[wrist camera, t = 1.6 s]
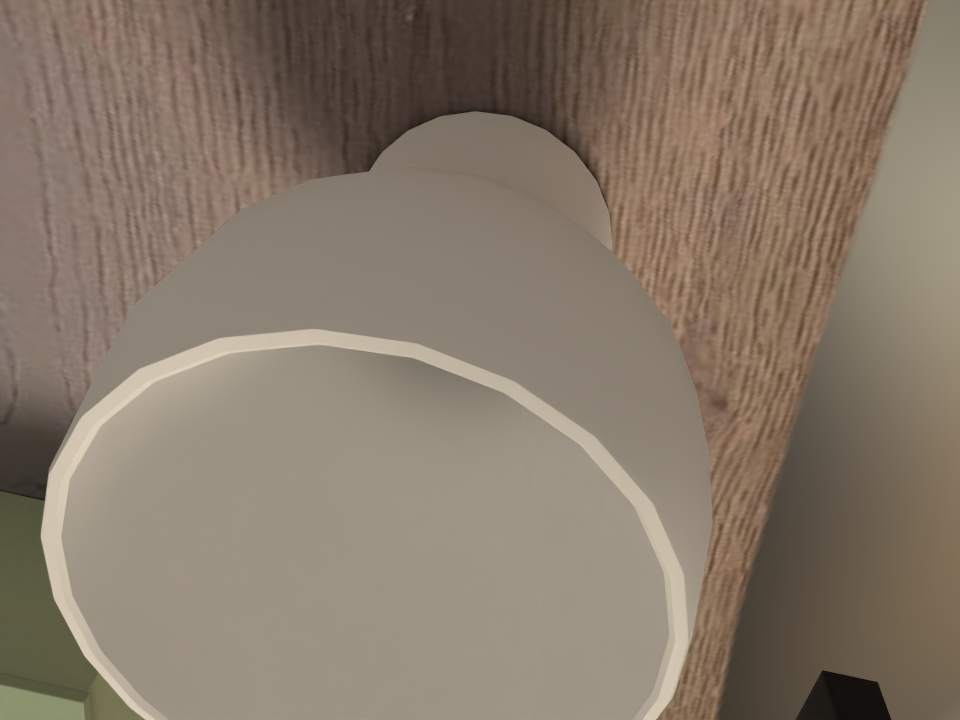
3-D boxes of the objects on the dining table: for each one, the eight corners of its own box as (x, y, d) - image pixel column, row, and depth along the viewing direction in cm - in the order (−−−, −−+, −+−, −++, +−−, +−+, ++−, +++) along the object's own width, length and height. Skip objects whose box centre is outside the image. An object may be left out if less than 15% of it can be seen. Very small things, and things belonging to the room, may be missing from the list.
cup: (617, 4, 22) (647, 179, 9) (693, 359, 26) (786, 821, 13) (250, 116, 24) (-152, 381, 11) (378, 421, 29) (196, 859, 16)
